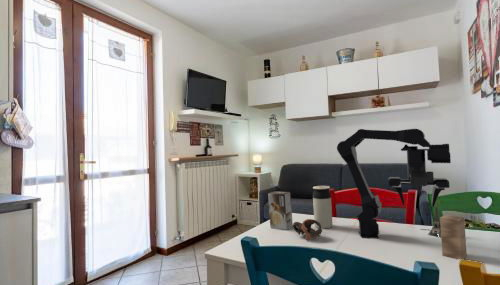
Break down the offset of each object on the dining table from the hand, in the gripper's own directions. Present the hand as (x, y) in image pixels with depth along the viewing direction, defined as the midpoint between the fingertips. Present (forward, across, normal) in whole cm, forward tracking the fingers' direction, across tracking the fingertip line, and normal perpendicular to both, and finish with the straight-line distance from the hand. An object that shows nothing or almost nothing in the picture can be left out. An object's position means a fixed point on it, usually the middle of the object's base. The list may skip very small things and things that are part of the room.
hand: (417, 205), depth 101 cm
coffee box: (+15, -54, +4) cm, 57 cm away
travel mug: (+14, -36, +10) cm, 40 cm away
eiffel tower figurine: (+14, +8, +11) cm, 19 cm away
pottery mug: (+14, -40, -7) cm, 43 cm away
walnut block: (+13, +9, -11) cm, 19 cm away
